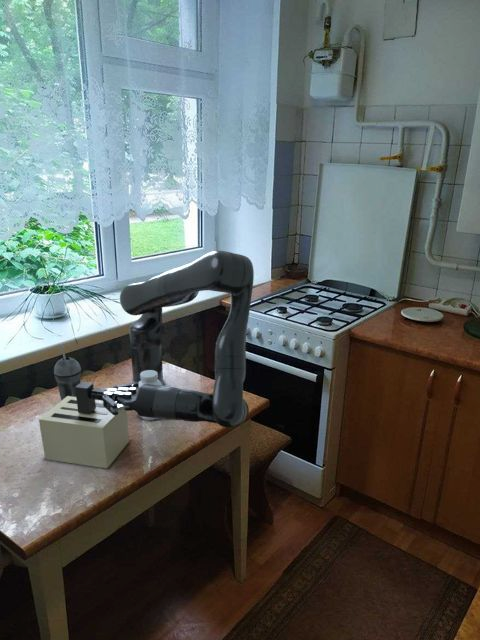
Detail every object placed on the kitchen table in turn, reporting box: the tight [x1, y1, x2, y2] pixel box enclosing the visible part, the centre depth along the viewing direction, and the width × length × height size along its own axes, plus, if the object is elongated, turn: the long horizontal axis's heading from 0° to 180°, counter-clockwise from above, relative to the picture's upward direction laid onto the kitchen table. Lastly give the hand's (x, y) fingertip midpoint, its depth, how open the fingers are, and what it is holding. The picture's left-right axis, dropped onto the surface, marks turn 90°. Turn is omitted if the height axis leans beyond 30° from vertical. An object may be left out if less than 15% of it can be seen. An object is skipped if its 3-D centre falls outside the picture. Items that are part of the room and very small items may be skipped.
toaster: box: [38, 396, 130, 469], centre depth 120 cm, size 12×16×11 cm
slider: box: [75, 381, 96, 414], centre depth 117 cm, size 3×3×7 cm
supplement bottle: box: [138, 370, 162, 421], centre depth 137 cm, size 7×7×13 cm
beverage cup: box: [53, 344, 82, 402], centre depth 137 cm, size 7×7×20 cm
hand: (91, 393), depth 116 cm, fingers closed
